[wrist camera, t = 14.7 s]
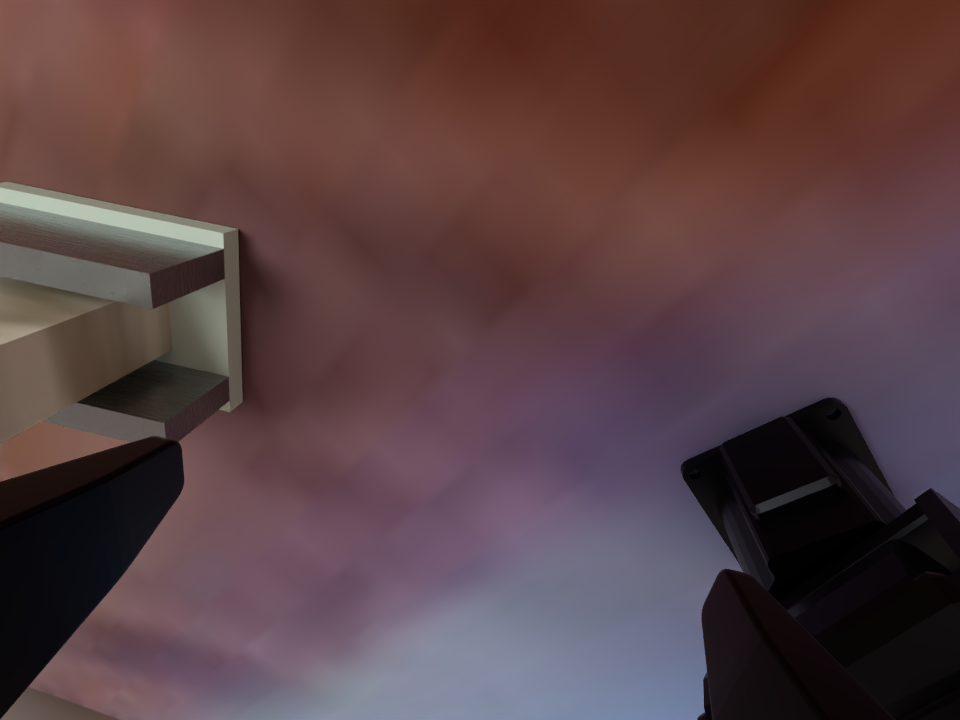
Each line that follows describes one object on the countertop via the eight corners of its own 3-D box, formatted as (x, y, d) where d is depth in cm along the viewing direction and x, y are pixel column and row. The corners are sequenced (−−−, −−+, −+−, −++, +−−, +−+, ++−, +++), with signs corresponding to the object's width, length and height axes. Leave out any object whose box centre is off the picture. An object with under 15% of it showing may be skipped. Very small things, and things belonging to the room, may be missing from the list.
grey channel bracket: (238, 229, 21) (147, 255, 16) (242, 401, 24) (168, 463, 20) (8, 182, 22) (-140, 194, 17) (43, 356, 25) (-73, 406, 20)
